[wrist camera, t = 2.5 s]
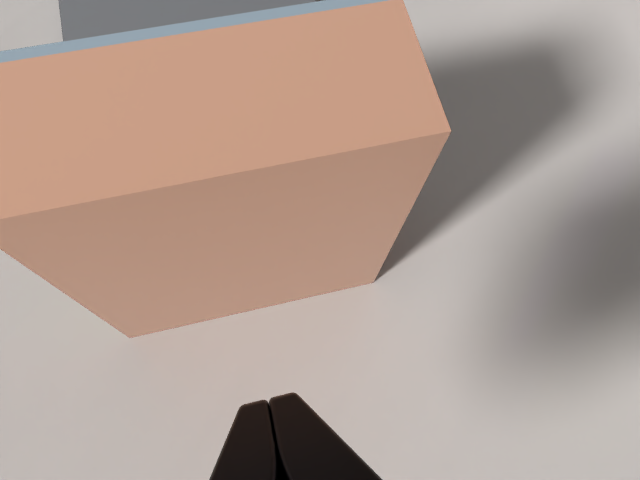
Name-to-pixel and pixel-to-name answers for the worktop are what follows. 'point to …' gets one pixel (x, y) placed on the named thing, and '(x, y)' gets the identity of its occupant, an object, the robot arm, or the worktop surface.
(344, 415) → the worktop surface
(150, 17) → the mat
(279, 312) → the worktop surface
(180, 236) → the tan flat block
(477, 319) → the worktop surface
